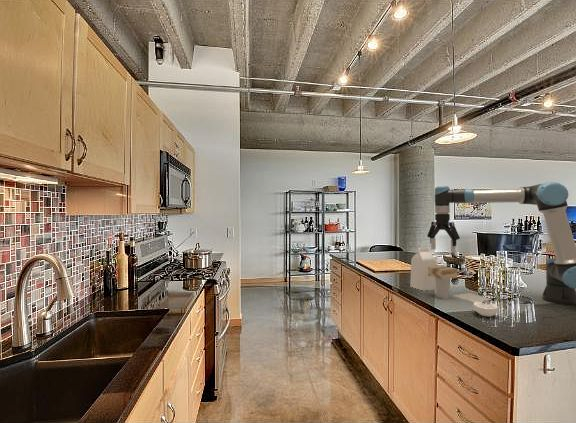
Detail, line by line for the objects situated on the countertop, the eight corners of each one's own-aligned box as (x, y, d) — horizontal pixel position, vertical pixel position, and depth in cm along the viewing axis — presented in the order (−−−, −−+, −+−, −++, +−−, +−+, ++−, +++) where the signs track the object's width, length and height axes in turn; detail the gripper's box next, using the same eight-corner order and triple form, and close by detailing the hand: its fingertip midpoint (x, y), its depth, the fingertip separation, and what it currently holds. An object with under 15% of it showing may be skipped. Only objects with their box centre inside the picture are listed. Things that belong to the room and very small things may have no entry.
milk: (423, 291, 190) (422, 249, 190) (410, 286, 201) (409, 247, 201) (438, 289, 194) (438, 248, 194) (425, 285, 205) (424, 246, 205)
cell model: (470, 316, 144) (470, 301, 144) (476, 310, 153) (476, 296, 153) (496, 321, 137) (496, 306, 137) (500, 314, 146) (500, 300, 146)
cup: (452, 299, 171) (452, 278, 171) (437, 299, 172) (437, 277, 172) (448, 296, 179) (448, 275, 179) (433, 295, 180) (433, 274, 180)
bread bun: (457, 277, 172) (457, 268, 172) (443, 279, 169) (443, 270, 169) (441, 274, 182) (441, 265, 182) (428, 275, 179) (428, 267, 179)
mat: (492, 300, 170) (492, 299, 170) (474, 302, 165) (474, 302, 165) (469, 293, 183) (469, 293, 183) (452, 296, 178) (452, 295, 178)
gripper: (420, 213, 186) (421, 248, 186) (456, 213, 162) (457, 253, 162) (430, 213, 188) (430, 248, 188) (466, 213, 165) (467, 252, 165)
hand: (442, 250), depth 175 cm, fingers open, 13 cm apart
